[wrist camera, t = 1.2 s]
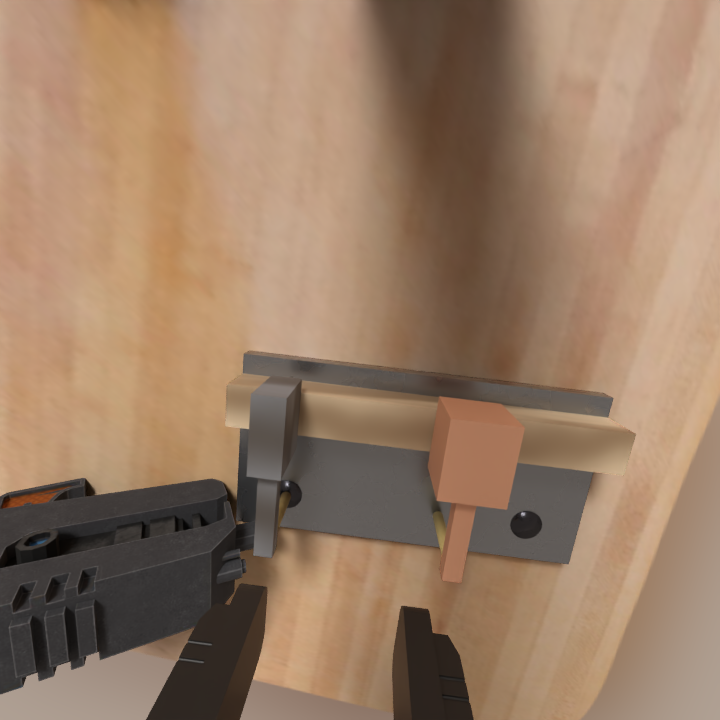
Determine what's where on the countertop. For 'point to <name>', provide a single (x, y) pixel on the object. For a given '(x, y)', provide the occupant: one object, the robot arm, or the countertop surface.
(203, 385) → the countertop surface
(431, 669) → the robot arm
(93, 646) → the tool
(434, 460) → the slider leg
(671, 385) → the countertop surface
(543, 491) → the hole plate
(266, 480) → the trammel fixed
